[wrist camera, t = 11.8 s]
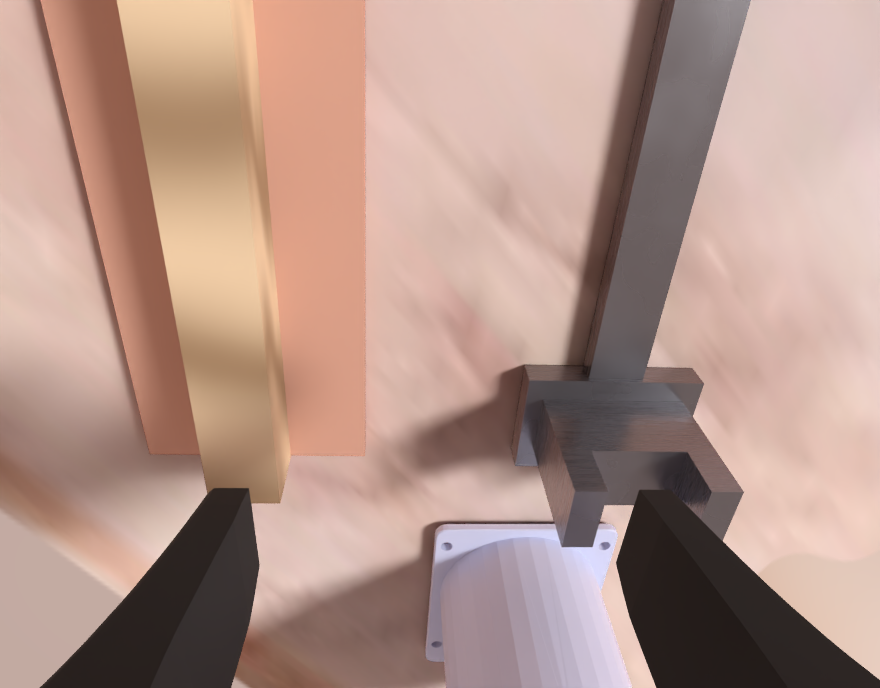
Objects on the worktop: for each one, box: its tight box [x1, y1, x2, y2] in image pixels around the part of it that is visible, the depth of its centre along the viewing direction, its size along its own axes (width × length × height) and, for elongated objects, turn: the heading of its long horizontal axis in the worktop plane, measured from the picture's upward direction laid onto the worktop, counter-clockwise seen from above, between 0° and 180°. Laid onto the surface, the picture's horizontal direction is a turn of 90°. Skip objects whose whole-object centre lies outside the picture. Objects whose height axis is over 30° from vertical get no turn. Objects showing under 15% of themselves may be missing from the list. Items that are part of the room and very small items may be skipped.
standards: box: [511, 0, 751, 547], centre depth 16 cm, size 24×6×6 cm, turn 176°
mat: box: [40, 0, 365, 456], centre depth 17 cm, size 24×8×1 cm, turn 176°
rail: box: [117, 0, 291, 503], centre depth 16 cm, size 24×2×2 cm, turn 176°
